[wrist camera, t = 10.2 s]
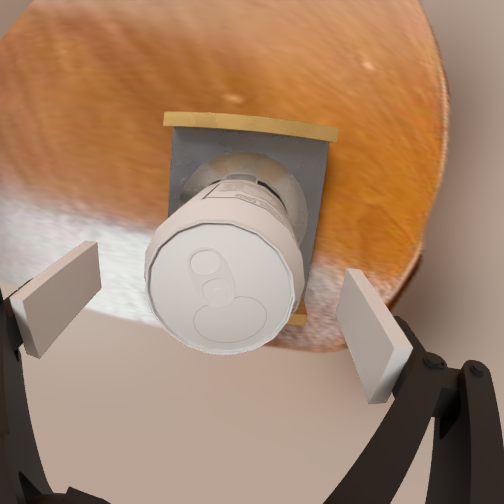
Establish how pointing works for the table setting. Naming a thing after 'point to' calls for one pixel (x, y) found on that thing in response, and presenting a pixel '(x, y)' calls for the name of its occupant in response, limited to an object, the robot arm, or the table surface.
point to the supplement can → (226, 267)
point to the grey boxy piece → (254, 165)
